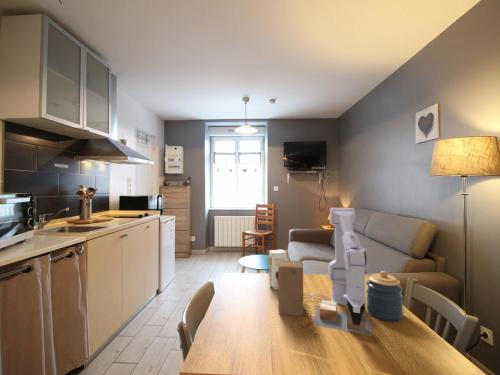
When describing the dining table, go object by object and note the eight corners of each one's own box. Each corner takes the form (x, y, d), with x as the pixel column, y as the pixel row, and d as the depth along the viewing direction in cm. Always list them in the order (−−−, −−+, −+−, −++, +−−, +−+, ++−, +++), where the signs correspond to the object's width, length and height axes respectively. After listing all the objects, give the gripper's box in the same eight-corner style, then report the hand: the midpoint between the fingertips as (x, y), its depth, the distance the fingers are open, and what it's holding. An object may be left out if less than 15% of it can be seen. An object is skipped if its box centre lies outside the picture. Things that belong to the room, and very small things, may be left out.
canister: (397, 308, 102) (396, 267, 102) (408, 325, 89) (407, 278, 90) (364, 305, 105) (363, 265, 106) (370, 320, 93) (369, 275, 93)
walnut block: (347, 324, 90) (346, 302, 90) (364, 327, 87) (364, 305, 88) (347, 329, 86) (346, 307, 86) (365, 333, 84) (365, 310, 84)
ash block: (319, 318, 94) (321, 309, 101) (335, 321, 91) (336, 312, 99) (319, 308, 94) (321, 299, 101) (335, 311, 91) (336, 302, 99)
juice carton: (267, 285, 128) (267, 249, 129) (282, 283, 131) (282, 248, 131) (273, 290, 121) (273, 253, 121) (288, 288, 124) (288, 252, 124)
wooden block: (303, 317, 95) (303, 267, 95) (278, 315, 97) (277, 266, 97) (303, 306, 105) (302, 260, 105) (280, 304, 107) (279, 259, 107)
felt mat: (317, 308, 103) (317, 307, 103) (369, 317, 95) (369, 316, 95) (312, 325, 90) (312, 324, 90) (372, 337, 82) (372, 336, 82)
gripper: (343, 275, 90) (344, 311, 90) (342, 290, 76) (343, 333, 76) (364, 278, 87) (364, 315, 87) (367, 294, 74) (367, 338, 74)
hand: (356, 324), depth 81 cm, fingers closed
